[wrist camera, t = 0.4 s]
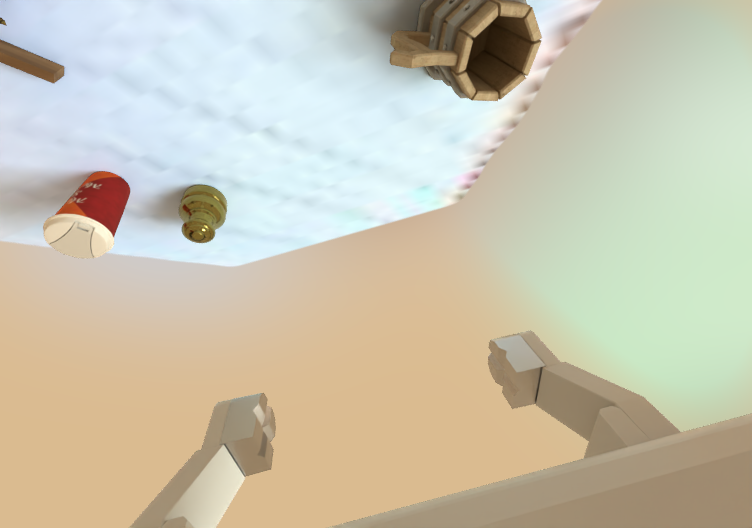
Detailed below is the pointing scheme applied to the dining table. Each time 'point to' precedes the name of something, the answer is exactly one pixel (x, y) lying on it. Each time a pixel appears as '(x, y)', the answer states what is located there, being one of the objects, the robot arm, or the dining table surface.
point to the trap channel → (30, 62)
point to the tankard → (471, 45)
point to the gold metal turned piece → (202, 213)
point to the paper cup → (89, 217)
